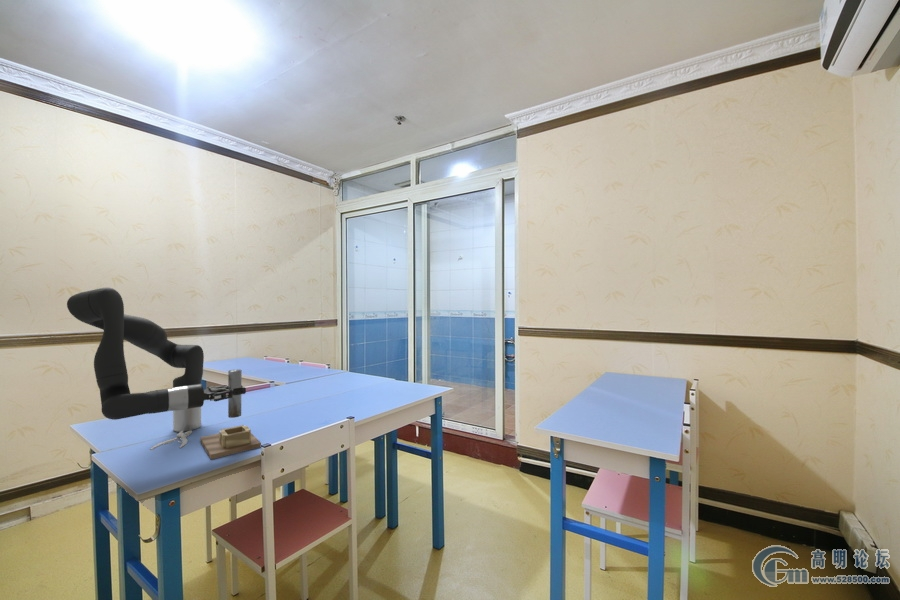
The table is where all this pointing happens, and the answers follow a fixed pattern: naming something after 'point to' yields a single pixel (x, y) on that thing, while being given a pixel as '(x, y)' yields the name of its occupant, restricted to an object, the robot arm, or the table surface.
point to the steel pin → (235, 401)
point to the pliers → (179, 435)
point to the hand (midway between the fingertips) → (243, 389)
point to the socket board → (230, 441)
